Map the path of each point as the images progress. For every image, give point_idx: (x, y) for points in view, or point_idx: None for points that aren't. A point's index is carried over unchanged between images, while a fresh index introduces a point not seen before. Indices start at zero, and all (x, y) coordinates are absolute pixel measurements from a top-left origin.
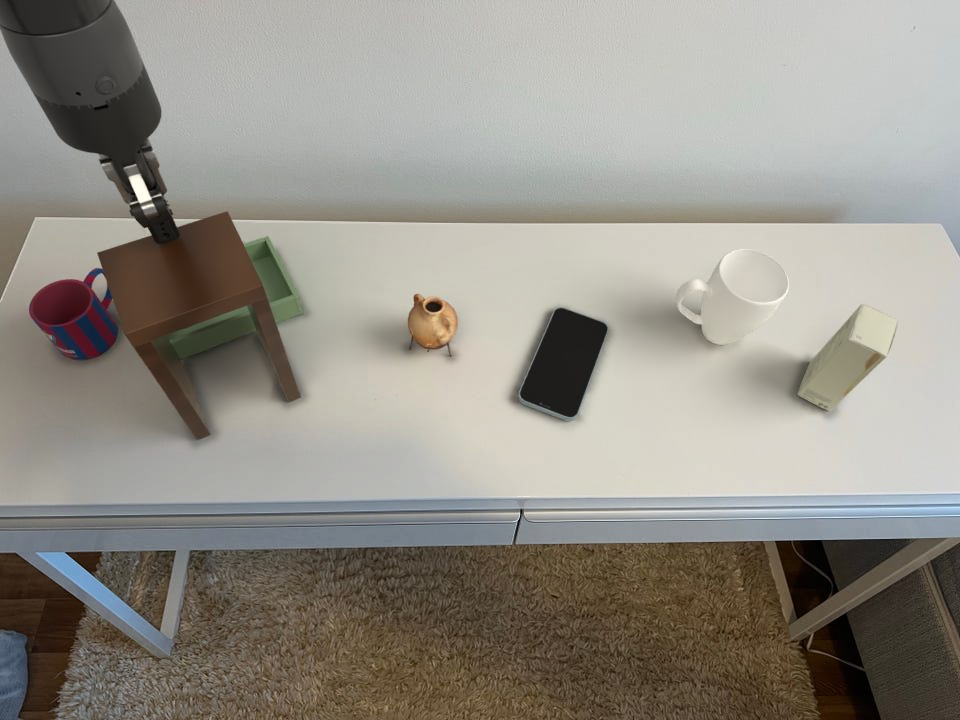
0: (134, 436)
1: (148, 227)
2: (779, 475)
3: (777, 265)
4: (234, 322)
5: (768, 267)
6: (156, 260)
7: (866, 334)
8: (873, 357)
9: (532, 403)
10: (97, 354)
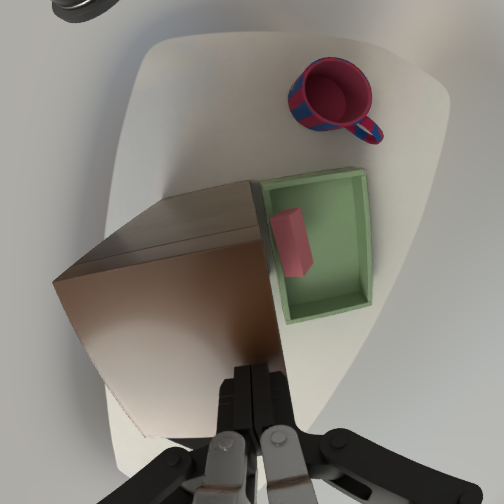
0: (180, 140)
1: (234, 401)
2: (121, 460)
3: None
4: (275, 261)
5: None
6: (207, 347)
7: None
8: None
9: None
10: (290, 109)
